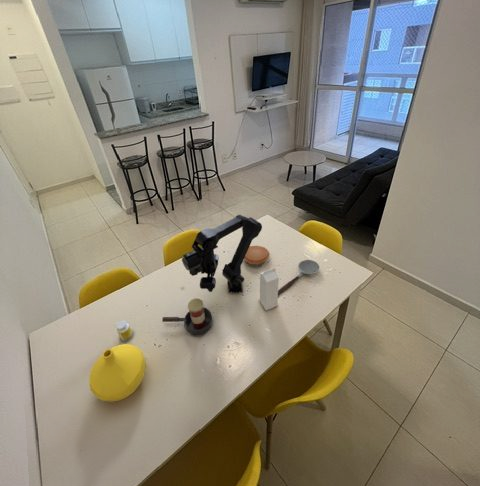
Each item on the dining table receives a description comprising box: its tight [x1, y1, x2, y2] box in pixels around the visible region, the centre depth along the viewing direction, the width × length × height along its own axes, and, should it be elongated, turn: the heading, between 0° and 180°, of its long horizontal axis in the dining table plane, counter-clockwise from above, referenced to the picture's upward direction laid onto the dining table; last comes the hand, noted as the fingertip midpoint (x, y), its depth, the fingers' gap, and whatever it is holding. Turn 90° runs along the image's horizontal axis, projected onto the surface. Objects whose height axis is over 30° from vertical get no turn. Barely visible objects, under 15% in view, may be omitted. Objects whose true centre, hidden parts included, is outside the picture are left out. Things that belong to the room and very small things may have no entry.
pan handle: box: [162, 316, 185, 323], centre depth 112 cm, size 10×2×2 cm, turn 89°
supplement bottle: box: [115, 319, 134, 342], centre depth 108 cm, size 5×5×8 cm
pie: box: [243, 245, 270, 267], centre depth 146 cm, size 16×16×5 cm
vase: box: [89, 343, 147, 402], centre depth 90 cm, size 18×18×19 cm
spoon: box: [278, 259, 320, 296], centre depth 132 cm, size 11×33×3 cm, turn 129°
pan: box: [183, 306, 214, 337], centre depth 113 cm, size 12×12×4 cm
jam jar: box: [187, 297, 206, 329], centre depth 110 cm, size 6×6×13 cm
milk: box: [259, 267, 280, 311], centre depth 115 cm, size 6×6×22 cm
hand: (211, 283), depth 117 cm, fingers open, 9 cm apart
